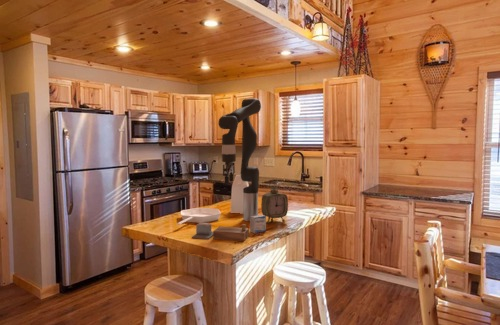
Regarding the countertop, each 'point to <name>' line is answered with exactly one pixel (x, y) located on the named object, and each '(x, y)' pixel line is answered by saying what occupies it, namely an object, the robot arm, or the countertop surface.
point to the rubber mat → (203, 236)
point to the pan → (199, 215)
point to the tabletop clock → (274, 204)
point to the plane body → (231, 233)
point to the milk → (237, 194)
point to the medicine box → (257, 223)
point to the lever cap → (203, 229)
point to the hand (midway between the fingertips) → (229, 182)
